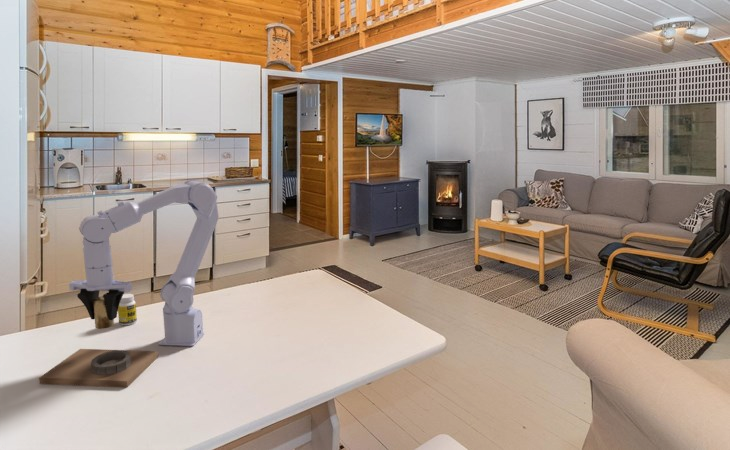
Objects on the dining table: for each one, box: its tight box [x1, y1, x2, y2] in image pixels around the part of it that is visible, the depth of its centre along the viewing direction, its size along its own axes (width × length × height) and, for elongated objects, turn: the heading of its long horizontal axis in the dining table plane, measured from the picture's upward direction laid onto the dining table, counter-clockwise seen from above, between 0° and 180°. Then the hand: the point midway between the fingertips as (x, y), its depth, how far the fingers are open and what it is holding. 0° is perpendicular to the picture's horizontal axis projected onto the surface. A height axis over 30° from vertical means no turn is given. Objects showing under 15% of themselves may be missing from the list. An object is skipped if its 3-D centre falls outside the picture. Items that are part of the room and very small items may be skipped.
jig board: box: [38, 348, 159, 388], centre depth 106 cm, size 20×14×4 cm
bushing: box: [93, 295, 115, 330], centre depth 110 cm, size 4×4×7 cm
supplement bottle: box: [117, 293, 138, 326], centre depth 132 cm, size 5×5×8 cm
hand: (104, 318), depth 111 cm, fingers closed on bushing, 4 cm apart
